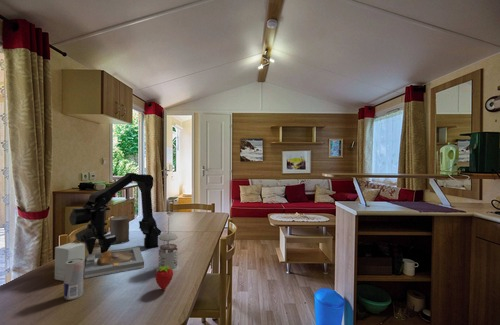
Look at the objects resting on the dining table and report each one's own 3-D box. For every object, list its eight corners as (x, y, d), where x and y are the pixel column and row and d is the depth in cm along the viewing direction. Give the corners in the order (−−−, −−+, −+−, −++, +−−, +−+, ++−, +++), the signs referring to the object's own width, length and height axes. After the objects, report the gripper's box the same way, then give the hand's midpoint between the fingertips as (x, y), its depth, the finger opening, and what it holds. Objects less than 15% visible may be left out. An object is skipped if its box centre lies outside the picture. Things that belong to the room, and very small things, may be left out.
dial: (118, 252, 123) (118, 242, 123) (138, 257, 117) (139, 246, 117) (89, 262, 110) (90, 251, 110) (111, 269, 104) (111, 256, 104)
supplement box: (85, 274, 102) (86, 243, 102) (67, 282, 95) (67, 249, 95) (72, 271, 104) (73, 241, 104) (53, 279, 97) (54, 246, 97)
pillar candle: (132, 239, 149) (132, 214, 149) (122, 244, 139) (122, 217, 140) (117, 238, 150) (117, 213, 150) (106, 243, 140) (106, 217, 140)
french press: (157, 275, 102) (158, 214, 102) (154, 264, 113) (155, 209, 113) (181, 270, 107) (182, 212, 107) (176, 261, 117) (177, 207, 117)
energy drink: (70, 292, 88) (71, 258, 88) (86, 291, 88) (86, 258, 88) (60, 300, 83) (60, 264, 83) (77, 300, 83) (77, 264, 83)
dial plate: (138, 251, 129) (138, 246, 129) (144, 267, 110) (144, 260, 110) (88, 259, 118) (88, 253, 118) (84, 278, 99) (84, 270, 99)
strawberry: (175, 285, 94) (176, 258, 94) (168, 295, 87) (169, 266, 87) (160, 284, 95) (160, 258, 95) (151, 295, 87) (152, 266, 87)
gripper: (65, 222, 109) (64, 257, 109) (93, 227, 101) (91, 266, 101) (91, 217, 119) (90, 250, 119) (117, 222, 111) (116, 257, 111)
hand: (96, 255), depth 112 cm, fingers open, 8 cm apart
